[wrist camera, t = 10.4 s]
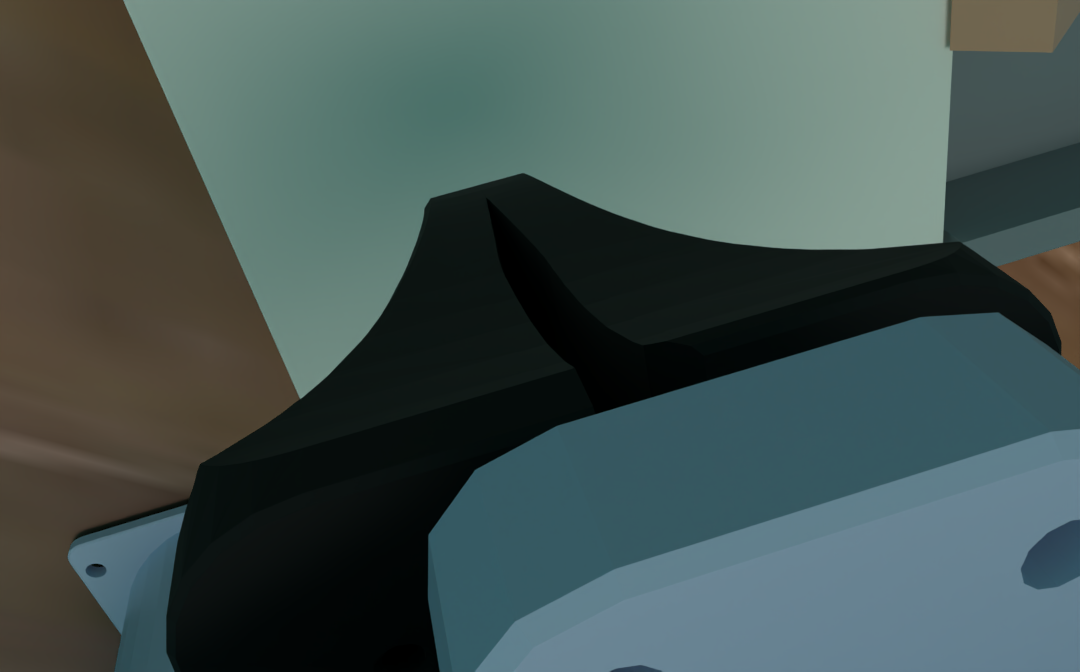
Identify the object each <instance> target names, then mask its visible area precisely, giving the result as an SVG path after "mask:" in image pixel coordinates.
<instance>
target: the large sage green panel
mask: <svg viewBox="0 0 1080 672" xmlns="http://www.w3.org/2000/svg"><path fill="white" fill-rule="evenodd" d="M123 1H124V3H125V5H126V8H127V10H128V12H129V14H130V17H131V19H132V21H133V23H134V26H135V28H136V30H137V32H138V35H139V37H140V39H141V41H142V44H143V46H144V48H145V50H146V53H147V55H148V57H149V59H150V62H151V64H152V66H153V68H154V71H155V73H156V75H157V77H158V80H159V82H160V84H161V86H162V89H163V91H164V93H165V95H166V98H167V100H168V102H169V104H170V107H171V109H172V111H173V113H174V116H175V118H176V120H177V122H178V125H179V127H180V129H181V131H182V134H183V136H184V138H185V140H186V143H187V145H188V147H189V149H190V152H191V154H192V156H193V158H194V161H195V163H196V165H197V167H198V170H199V172H200V174H201V176H202V179H203V181H204V183H205V186H206V188H207V190H208V192H209V195H210V197H211V199H212V201H213V204H214V206H215V208H216V210H217V213H218V215H219V217H220V219H221V222H222V224H223V226H224V228H225V231H226V233H227V235H228V237H229V240H230V242H231V244H232V246H233V249H234V251H235V253H236V255H237V258H238V260H239V262H240V264H241V267H242V269H243V271H244V273H245V276H246V278H247V280H248V282H249V285H250V287H251V289H252V291H253V294H254V296H255V298H256V300H257V303H258V305H259V307H260V309H261V312H262V314H263V316H264V318H265V321H266V323H267V325H268V327H269V330H270V332H271V334H272V336H273V339H274V341H275V343H276V345H277V348H278V350H279V352H280V354H281V357H282V359H283V361H284V363H285V366H286V368H287V370H288V372H289V375H290V377H291V379H292V381H293V384H294V386H295V388H296V390H297V393H298V395H299V397H300V399H301V398H302V397H304V396H305V395H306V394H307V393H308V392H310V391H311V390H312V389H313V388H314V387H315V386H317V385H318V384H319V383H320V382H321V381H322V380H324V379H325V378H326V377H327V376H328V375H329V374H330V373H331V372H332V371H333V370H334V369H335V368H336V367H337V366H338V365H339V364H340V362H341V361H342V360H343V359H344V358H345V357H346V356H347V355H348V354H349V353H350V352H351V351H352V350H353V349H354V348H355V347H356V346H357V345H358V344H359V343H360V342H361V341H362V339H363V338H364V337H365V336H366V335H367V333H368V332H369V331H370V329H371V328H372V327H373V325H374V324H375V323H376V321H377V320H378V319H379V317H380V316H381V314H382V313H383V311H384V309H385V308H386V306H387V304H388V303H389V301H390V299H391V297H392V295H393V293H394V291H395V289H396V287H397V285H398V283H399V282H400V280H401V278H402V276H403V274H404V272H405V269H406V267H407V265H408V262H409V260H410V257H411V255H412V252H413V250H414V247H415V244H416V242H417V239H418V236H419V232H420V229H421V225H422V222H423V217H424V208H425V206H426V205H427V203H428V202H429V200H430V198H433V197H437V196H440V195H444V194H448V193H451V192H455V191H459V190H462V189H466V188H470V187H473V186H477V185H480V184H484V183H488V182H491V181H495V180H499V179H502V178H506V177H510V176H513V175H517V174H521V173H525V174H528V175H530V176H532V177H534V178H536V179H539V180H541V181H543V182H545V183H547V184H549V185H551V186H553V187H555V188H557V189H559V190H561V191H563V192H565V193H567V194H570V195H572V196H574V197H576V198H578V199H581V200H583V201H585V202H587V203H590V204H592V205H594V206H597V207H599V208H602V209H604V210H607V211H609V212H612V213H614V214H617V215H620V216H623V217H626V218H629V219H631V220H634V221H637V222H640V223H643V224H646V225H649V226H653V227H656V228H660V229H663V230H667V231H671V232H676V233H680V234H685V235H689V236H694V237H699V238H703V239H708V240H714V241H720V242H727V243H733V244H743V245H753V246H762V247H772V248H788V249H875V248H887V247H899V246H911V245H923V244H934V243H943V230H944V210H945V191H946V172H947V152H948V133H949V114H950V95H951V75H952V56H953V51H950V33H951V10H952V0H123Z"/></svg>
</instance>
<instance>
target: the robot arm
mask: <svg viewBox="0 0 1080 672" xmlns="http://www.w3.org/2000/svg"><path fill="white" fill-rule="evenodd" d="M68 560H69V563H70V564H71V565H72V567H73V568H74V570H75V571H76V572H77V574H78V575H79V577H80V578H81V579H82V581H83V582H84V584H85V585H86V586H87V588H88V589H89V591H90V592H91V593H92V595H93V596H94V598H95V599H96V600H97V602H98V603H99V605H100V606H101V607H102V609H103V610H104V612H105V613H106V614H107V616H108V617H109V618H110V620H111V621H112V623H113V624H114V625H115V627H116V628H117V630H118V631H119V632H120V634H121V640H120V646H119V651H118V656H117V661H116V666H115V671H114V672H1080V370H1079V369H1078V368H1076V367H1075V366H1074V365H1072V364H1071V363H1070V362H1069V361H1067V360H1066V359H1065V358H1063V357H1062V356H1061V340H1060V337H1059V335H1058V332H1057V329H1056V326H1055V324H1054V321H1053V318H1052V315H1051V313H1050V312H1049V311H1048V310H1047V309H1046V307H1045V306H1044V305H1043V304H1042V303H1041V302H1040V301H1039V300H1038V299H1037V298H1036V297H1035V296H1034V295H1033V294H1032V293H1031V292H1030V290H1028V289H1027V288H1026V287H1024V286H1023V285H1021V284H1020V283H1018V282H1017V281H1016V280H1014V279H1013V278H1011V277H1010V276H1009V275H1007V274H1006V273H1004V272H1003V271H1002V270H1000V269H999V268H997V267H996V266H995V265H993V264H992V263H990V262H989V261H987V260H986V259H985V258H983V257H982V256H980V255H979V254H978V253H976V252H975V251H973V250H972V249H970V248H969V247H967V246H966V245H964V244H963V243H961V242H959V241H958V242H946V243H934V244H923V245H911V246H899V247H887V248H875V249H788V248H772V247H762V246H753V245H743V244H733V243H727V242H720V241H714V240H708V239H703V238H699V237H694V236H689V235H685V234H680V233H676V232H671V231H667V230H663V229H660V228H656V227H653V226H649V225H646V224H643V223H640V222H637V221H634V220H631V219H629V218H626V217H623V216H620V215H617V214H614V213H612V212H609V211H607V210H604V209H602V208H599V207H597V206H594V205H592V204H590V203H587V202H585V201H583V200H581V199H578V198H576V197H574V196H572V195H570V194H567V193H565V192H563V191H561V190H559V189H557V188H555V187H553V186H551V185H549V184H547V183H545V182H543V181H541V180H539V179H536V178H534V177H532V176H530V175H528V174H525V173H521V174H517V175H513V176H510V177H506V178H502V179H499V180H495V181H491V182H488V183H484V184H480V185H477V186H473V187H470V188H466V189H462V190H459V191H455V192H451V193H448V194H444V195H440V196H437V197H433V198H430V200H429V202H428V203H427V205H426V206H425V208H424V217H423V222H422V225H421V229H420V232H419V236H418V239H417V242H416V244H415V247H414V250H413V252H412V255H411V257H410V260H409V262H408V265H407V267H406V269H405V272H404V274H403V276H402V278H401V280H400V282H399V283H398V285H397V287H396V289H395V291H394V293H393V295H392V297H391V299H390V301H389V303H388V304H387V306H386V308H385V309H384V311H383V313H382V314H381V316H380V317H379V319H378V320H377V321H376V323H375V324H374V325H373V327H372V328H371V329H370V331H369V332H368V333H367V335H366V336H365V337H364V338H363V339H362V341H361V342H360V343H359V344H358V345H357V346H356V347H355V348H354V349H353V350H352V351H351V352H350V353H349V354H348V355H347V356H346V357H345V358H344V359H343V360H342V361H341V362H340V364H339V365H338V366H337V367H336V368H335V369H334V370H333V371H332V372H331V373H330V374H329V375H328V376H327V377H326V378H325V379H324V380H322V381H321V382H320V383H319V384H318V385H317V386H315V387H314V388H313V389H312V390H311V391H310V392H308V393H307V394H306V395H305V396H304V397H302V398H301V399H300V400H298V401H297V402H296V403H294V404H293V405H292V406H291V407H289V408H288V409H287V410H285V411H284V412H283V413H281V414H280V415H279V416H277V417H276V418H274V419H273V420H272V421H270V422H269V423H267V424H266V425H264V426H263V427H261V428H259V429H258V430H256V431H255V432H253V433H251V434H250V435H248V436H247V437H245V438H243V439H242V440H240V441H238V442H237V443H235V444H234V445H232V446H230V447H229V448H227V449H225V450H224V451H222V452H221V453H219V454H217V455H216V456H214V457H212V458H210V459H208V460H207V461H205V462H203V463H201V464H200V466H199V468H198V471H197V475H196V479H195V483H194V486H193V489H192V492H191V495H190V498H189V501H188V504H187V505H184V506H180V507H177V508H174V509H171V510H167V511H164V512H161V513H157V514H154V515H151V516H148V517H144V518H141V519H138V520H135V521H131V522H128V523H125V524H121V525H118V526H115V527H112V528H108V529H105V530H102V531H99V532H95V533H92V534H89V535H85V536H82V537H80V538H78V539H76V540H74V541H73V543H72V544H71V546H70V549H69V553H68ZM91 564H101V565H103V566H104V567H94V566H92V565H91Z"/></svg>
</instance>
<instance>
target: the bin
mask: <svg viewBox="0 0 1080 672" xmlns="http://www.w3.org/2000/svg"><path fill="white" fill-rule="evenodd" d="M958 241H959V242H961V243H963V244H964V245H966V246H967V247H969V248H970V249H972V250H973V251H975V252H976V253H978V254H979V255H980V256H982V257H983V258H985V259H986V260H987V261H989V262H990V263H992V264H993V265H995V266H996V267H997V266H1000V265H1003V264H1007V263H1010V262H1013V261H1016V260H1020V259H1023V258H1026V257H1029V256H1033V255H1036V254H1039V253H1042V252H1046V251H1049V250H1052V249H1055V248H1059V247H1062V246H1065V245H1069V244H1072V243H1075V242H1078V241H1080V12H1079V14H1078V15H1077V17H1076V18H1075V20H1074V21H1073V23H1072V24H1071V26H1070V27H1069V29H1068V30H1067V32H1066V33H1065V35H1064V36H1063V38H1062V39H1061V41H1060V42H1059V44H1058V45H1057V47H1056V48H1055V50H1054V51H1053V53H1047V52H998V51H953V56H952V75H951V95H950V114H949V133H948V152H947V172H946V191H945V210H944V230H943V243H946V242H958Z"/></svg>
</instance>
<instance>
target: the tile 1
mask: <svg viewBox="0 0 1080 672" xmlns="http://www.w3.org/2000/svg"><path fill="white" fill-rule="evenodd" d="M1079 12H1080V0H952V10H951V33H950V51H998V52H1047V53H1053V51H1054V50H1055V48H1056V47H1057V45H1058V44H1059V42H1060V41H1061V39H1062V38H1063V36H1064V35H1065V33H1066V32H1067V30H1068V29H1069V27H1070V26H1071V24H1072V23H1073V21H1074V20H1075V18H1076V17H1077V15H1078V14H1079Z"/></svg>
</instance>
